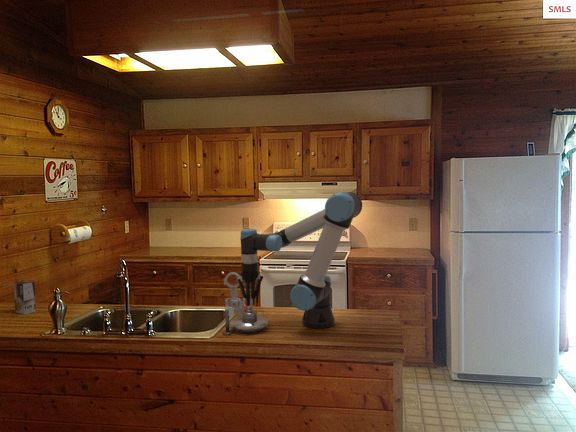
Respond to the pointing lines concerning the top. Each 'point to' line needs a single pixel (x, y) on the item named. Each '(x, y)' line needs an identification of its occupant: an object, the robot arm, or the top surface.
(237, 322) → the turntable
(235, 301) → the engine component
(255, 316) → the cover
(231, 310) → the dial stand
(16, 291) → the coffee box
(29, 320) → the top surface
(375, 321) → the top surface
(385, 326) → the top surface
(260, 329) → the turntable base
